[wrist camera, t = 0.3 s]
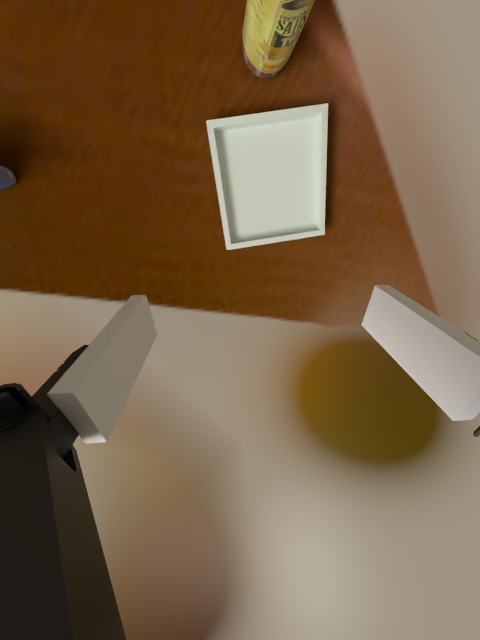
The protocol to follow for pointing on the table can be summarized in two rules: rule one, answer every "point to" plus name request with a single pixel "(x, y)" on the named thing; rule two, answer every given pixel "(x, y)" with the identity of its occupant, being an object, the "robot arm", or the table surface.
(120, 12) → the table surface
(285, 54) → the sauce bottle
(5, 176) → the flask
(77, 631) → the robot arm
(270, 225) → the tray
